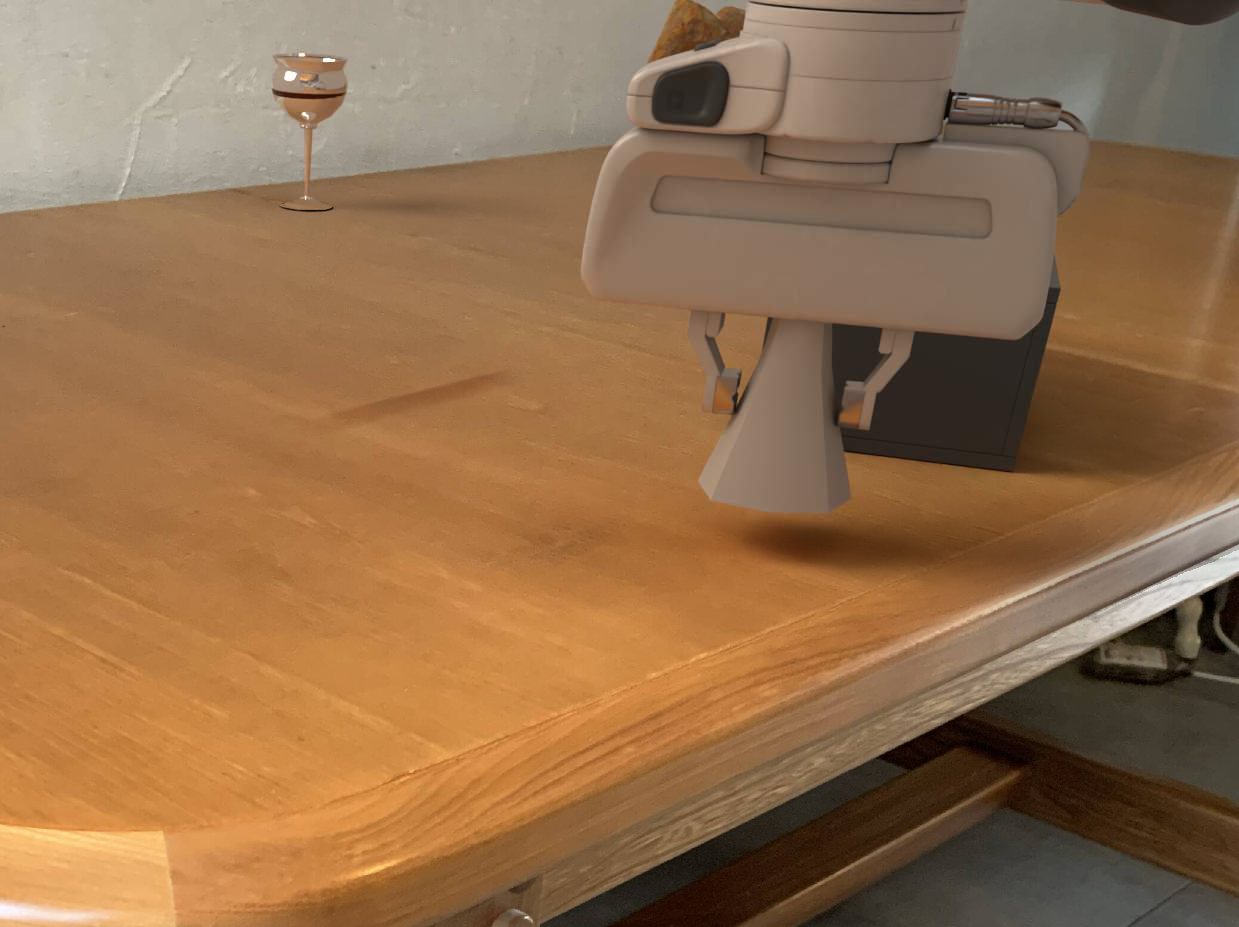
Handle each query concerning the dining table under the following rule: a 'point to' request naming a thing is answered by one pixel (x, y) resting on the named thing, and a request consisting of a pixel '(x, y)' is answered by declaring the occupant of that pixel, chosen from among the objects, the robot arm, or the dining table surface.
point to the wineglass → (309, 93)
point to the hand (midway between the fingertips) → (784, 418)
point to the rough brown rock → (696, 28)
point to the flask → (784, 430)
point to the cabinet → (945, 392)
